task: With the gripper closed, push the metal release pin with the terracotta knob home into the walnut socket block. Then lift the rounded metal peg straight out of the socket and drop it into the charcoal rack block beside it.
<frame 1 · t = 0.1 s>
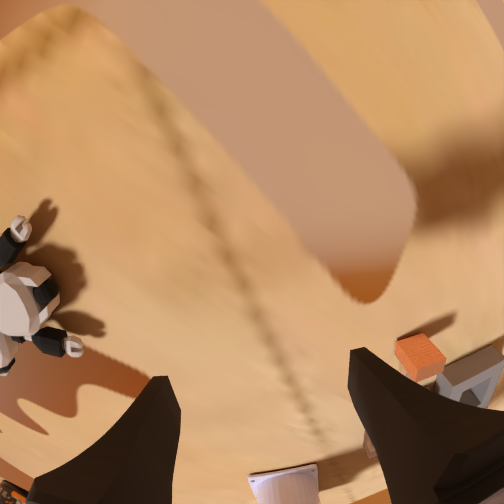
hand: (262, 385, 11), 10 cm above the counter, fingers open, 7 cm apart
rack block: (459, 382, 27), on the counter
supplement container: (22, 493, 34), on the counter
robot toy: (10, 294, 20), on the counter
release pin: (415, 378, 22), point 2 cm above the counter, slide at 3.0 cm
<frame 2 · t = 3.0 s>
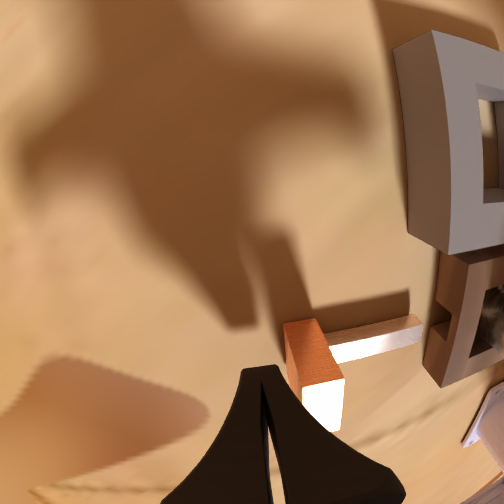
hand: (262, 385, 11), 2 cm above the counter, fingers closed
rack block: (470, 142, 11), on the counter
socket block: (478, 299, 14), on the counter
release pin: (369, 362, 11), point 2 cm above the counter, slide at 3.0 cm, touching gripper
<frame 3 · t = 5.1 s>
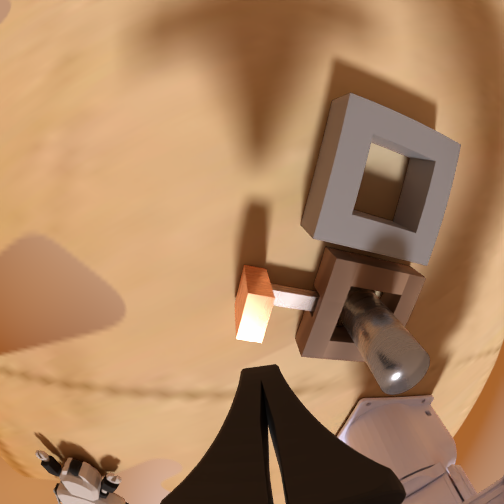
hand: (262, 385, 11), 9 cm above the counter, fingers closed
rack block: (374, 179, 18), on the counter
robot toy: (92, 478, 28), on the counter
socket block: (354, 302, 21), on the counter
rounded metal peg: (377, 332, 17), in the socket block
release pin: (293, 308, 18), point 2 cm above the counter, slide at -0.1 cm
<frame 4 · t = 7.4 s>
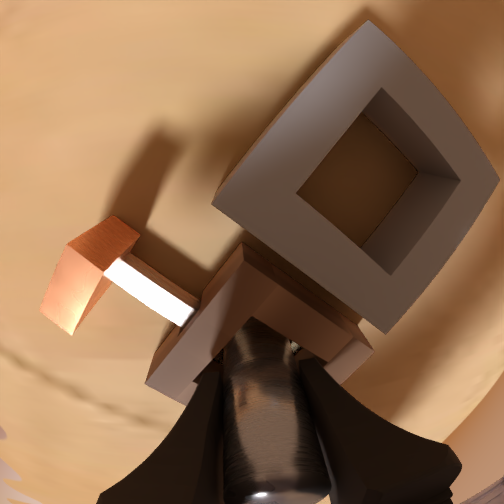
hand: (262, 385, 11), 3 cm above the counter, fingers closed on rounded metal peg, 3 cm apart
rack block: (356, 176, 12), on the counter
socket block: (256, 343, 14), on the counter
rounded metal peg: (264, 404, 10), in the socket block, touching gripper
release pin: (148, 308, 11), point 2 cm above the counter, slide at -0.1 cm
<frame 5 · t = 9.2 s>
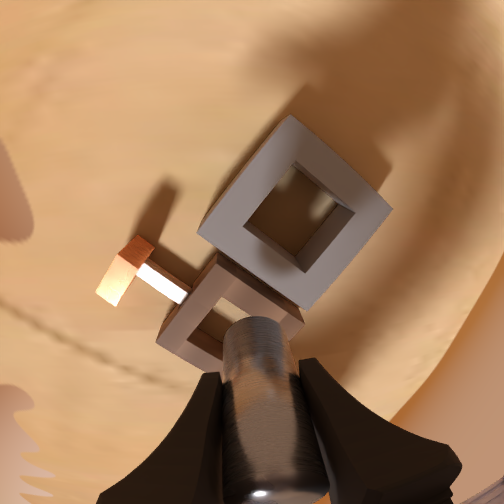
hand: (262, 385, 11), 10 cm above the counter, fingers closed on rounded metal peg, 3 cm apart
rack block: (290, 209, 19), on the counter
socket block: (228, 318, 22), on the counter
rounded metal peg: (263, 404, 10), point 11 cm above the counter, touching gripper
release pin: (160, 292, 18), point 2 cm above the counter, slide at -0.1 cm
when the fingers open (5 cm above the counter, at t = 11.0 s): rounded metal peg drops 2 cm, resting in rack block.
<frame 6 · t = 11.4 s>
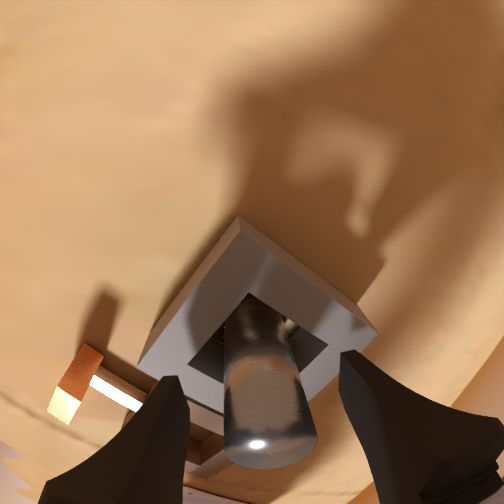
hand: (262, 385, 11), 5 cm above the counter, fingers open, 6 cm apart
rack block: (253, 321, 16), on the counter
socket block: (191, 418, 18), on the counter
rounded metal peg: (260, 371, 12), in the rack block
release pin: (112, 406, 15), point 2 cm above the counter, slide at -0.1 cm
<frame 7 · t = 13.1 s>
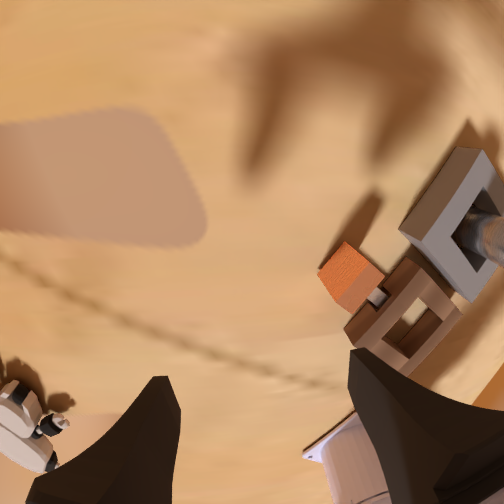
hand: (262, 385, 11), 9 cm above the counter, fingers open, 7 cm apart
rack block: (456, 220, 20), on the counter
robot toy: (25, 410, 24), on the counter
socket block: (401, 315, 22), on the counter
rounded metal peg: (490, 236, 16), in the rack block
release pin: (374, 296, 19), point 2 cm above the counter, slide at -0.1 cm
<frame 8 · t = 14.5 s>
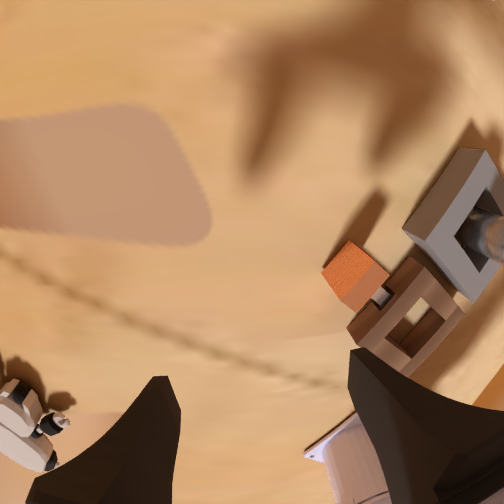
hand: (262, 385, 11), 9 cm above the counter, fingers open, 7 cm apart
rack block: (459, 220, 20), on the counter
robot toy: (24, 409, 24), on the counter
socket block: (403, 315, 22), on the counter
rounded metal peg: (493, 235, 16), in the rack block
release pin: (377, 295, 18), point 2 cm above the counter, slide at -0.1 cm
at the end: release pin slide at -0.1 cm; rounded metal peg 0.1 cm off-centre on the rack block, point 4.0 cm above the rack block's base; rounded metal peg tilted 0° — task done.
